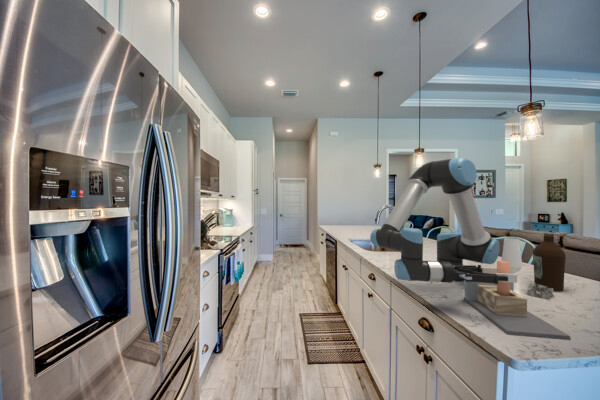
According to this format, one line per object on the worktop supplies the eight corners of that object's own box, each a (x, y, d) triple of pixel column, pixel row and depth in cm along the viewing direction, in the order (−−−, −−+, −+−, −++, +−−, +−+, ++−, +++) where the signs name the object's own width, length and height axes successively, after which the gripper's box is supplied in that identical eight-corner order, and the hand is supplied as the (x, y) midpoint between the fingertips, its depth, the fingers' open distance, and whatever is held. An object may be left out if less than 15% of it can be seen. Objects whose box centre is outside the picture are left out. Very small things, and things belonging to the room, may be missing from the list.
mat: (570, 339, 70) (570, 336, 70) (507, 334, 73) (507, 330, 73) (508, 302, 96) (508, 299, 96) (463, 299, 98) (463, 297, 98)
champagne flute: (497, 294, 103) (497, 238, 104) (507, 292, 106) (507, 237, 106) (516, 300, 97) (516, 240, 97) (526, 298, 100) (526, 239, 100)
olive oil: (557, 285, 115) (557, 232, 115) (571, 293, 105) (571, 235, 106) (528, 282, 119) (528, 231, 120) (539, 289, 110) (539, 234, 110)
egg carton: (549, 301, 98) (549, 290, 98) (524, 295, 104) (524, 285, 104) (555, 295, 104) (555, 285, 104) (531, 289, 110) (531, 280, 110)
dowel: (496, 307, 86) (496, 261, 86) (496, 304, 89) (496, 260, 89) (510, 310, 84) (510, 263, 84) (509, 306, 87) (509, 261, 87)
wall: (513, 302, 93) (513, 281, 93) (467, 299, 95) (467, 279, 95) (509, 300, 95) (509, 279, 95) (464, 297, 98) (464, 277, 98)
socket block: (526, 316, 81) (527, 298, 81) (496, 314, 83) (496, 296, 83) (503, 302, 93) (503, 286, 93) (477, 300, 95) (477, 284, 95)
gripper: (429, 273, 100) (491, 277, 97) (451, 291, 81) (530, 296, 77) (429, 255, 100) (491, 258, 97) (451, 268, 81) (530, 272, 77)
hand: (508, 275), depth 87 cm, fingers open, 7 cm apart
